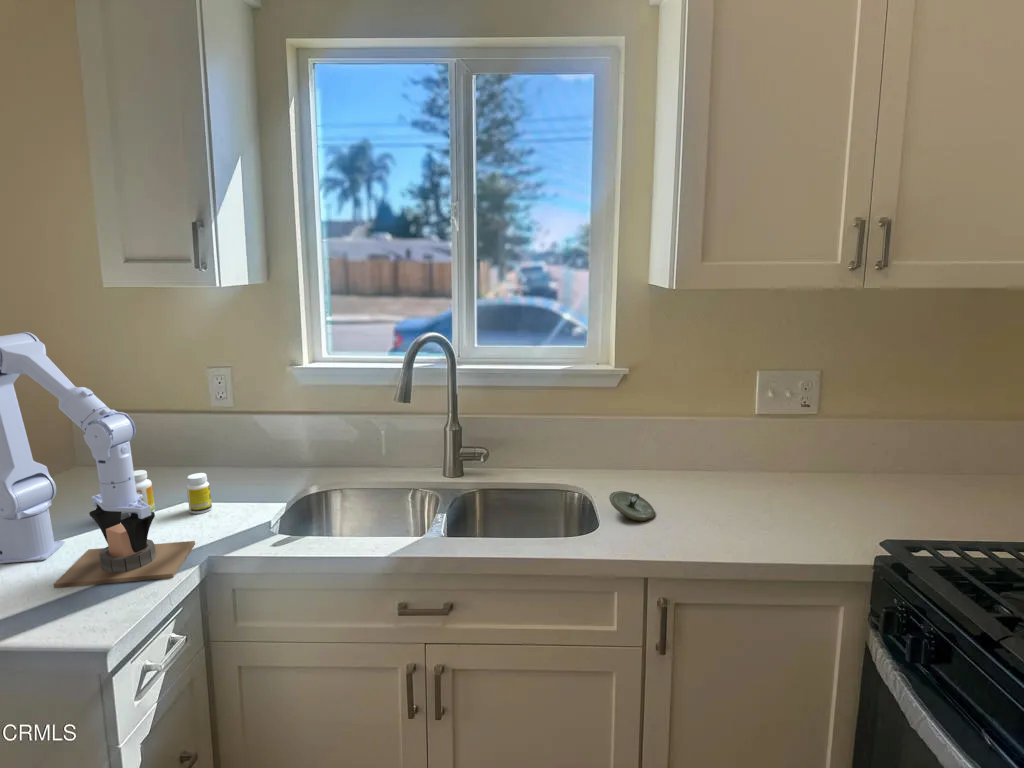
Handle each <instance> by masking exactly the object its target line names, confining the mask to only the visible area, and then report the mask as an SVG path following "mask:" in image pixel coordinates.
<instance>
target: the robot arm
mask: <svg viewBox="0 0 1024 768" xmlns="http://www.w3.org/2000/svg"><path fill="white" fill-rule="evenodd" d="M21 375H26V376H28V377H29V378H30V379H32V380H33V381H35V382H36V383H38V384H39V385H40V386H41V387H43V388H44V389H45V390H46V391H47V392H49V393H50V394H51V395H53V396H54V397H55V398H56V399H58V408H59V410H60V412H62V414H64V415H65V416H67V418H68V419H70V420H71V422H73V423H74V424H75V425H76V426H77V427H79V428H80V429H81V431H83V432H84V433H85V434H83V436H82V437H83V439H84V442H85V444H86V445H87V446H88V447H89V449H90V451H91V456H92V457H93V459H94V460H95V463H96V469H97V477H98V483H99V489H100V493H98V494H96V495H92V496H91V497H90V498H91V504H92V507H95V509H94V510H91V511H90V512H89V513H88V514H89V516H90V517H91V518H92V520H94V522H95V524H97V526H98V527H99V529H100V531H101V533H102V535H103V538H104V539H105V541H106V544H108V541H107V535H106V529H107V528H110V527H113V526H115V525H118V524H120V523H121V524H122V525H123V526H124V528H125V530H126V532H127V534H128V536H129V540H130V544H131V547H132V550H133V552H135V553H137V552H139V551H141V550H143V549H145V548H146V543H147V539H148V536H149V531H150V527H151V525H152V522H153V520H154V518H155V517H156V513H155V511H154V512H151V508H150V505H147V504H145V503H144V502H143V501H142V500H141V499H142V498H143V496H142V494H137V492H136V484H135V477H134V471H135V470H134V464H133V455H132V449H131V442H130V441H132V440H133V439H134V437H135V435H136V425H135V422H134V420H133V419H132V418H131V417H130V416H129V415H128V413H125V412H123V411H116V410H115V409H110V408H109V406H107V405H106V404H105V403H104V402H103V401H102V400H101V399H100V398H99V397H98V396H96V395H95V394H94V392H93V391H92V390H91V389H90V388H88V387H84V386H79V387H78V386H75V385H74V384H73V382H71V380H70V379H69V378H68V377H67V376H66V375H65V374H64V373H63V372H62V371H61V369H60V368H59V367H58V366H57V365H55V363H54V362H53V360H51V359H50V358H49V357H48V356H47V349H46V345H45V344H44V343H43V342H42V341H40V340H39V337H38V336H36V335H35V334H33V333H32V332H28V331H22V332H19V333H13V334H6V335H0V564H10V563H21V562H22V563H23V562H33V561H34V562H35V561H45V560H46V559H48V558H49V557H50V556H52V555H53V553H54V552H56V551H57V550H58V549H59V548H60V547H61V546H63V544H65V540H55V538H54V531H53V527H52V521H51V515H50V514H51V513H50V508H49V507H51V506H52V504H53V503H52V500H53V499H54V498H55V497H56V494H57V486H56V483H55V481H54V480H53V478H52V477H51V475H50V473H49V470H48V467H47V466H46V465H44V464H42V463H40V462H37V461H35V460H34V458H33V455H32V454H33V453H32V450H31V446H30V443H29V440H28V439H29V438H28V436H27V431H26V428H25V424H24V420H23V417H22V416H23V415H22V413H21V409H20V405H19V401H18V397H17V394H16V389H15V386H14V384H15V382H16V381H17V379H18V378H19V376H21ZM122 513H126V514H128V515H129V514H130V515H131V516H130V515H129V516H126V517H125V518H122ZM121 518H122V519H121Z"/></svg>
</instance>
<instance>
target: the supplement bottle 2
mask: <svg viewBox="0 0 1024 768" xmlns="http://www.w3.org/2000/svg"><path fill="white" fill-rule="evenodd" d="M186 480H187V485H186V492H187V500H188V510H189V513H191V514H192V515H198V514H199V515H200V514H204V513H207V512H210V511H211V510H213V505H212V504H213V503H212V495H211V488H210V485H211V484H210V483H209V482H208V477H207V474H206V473H205V472H197V473H192V474H190V475H187V479H186Z"/></svg>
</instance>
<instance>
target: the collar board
mask: <svg viewBox="0 0 1024 768" xmlns="http://www.w3.org/2000/svg"><path fill="white" fill-rule="evenodd" d="M194 545H195V546H196V540H189V541H178V542H177V541H176V542H175V541H174V542H165V543H154V541H153V540H152V539H148V538H147V543H146V549H145V550H143V551H141V552H139V553H137V554H134V555H130V556H126V557H116V558H114V557H110V555H109V548H108V546H106V547H103V548H101V547H100V548H99V547H98V548H92V549H91V548H90V549H87V550H86V552H84V553H83V554H82V555H81V556H80V557H79V558H78V559H77V560H76V561H75V562H74V563H73V564H72V565H71V566H70V567H69V568H68V569H67V570H66V571H65V572H64V573H63V574H62V575H61V576H60V577H59V578H58V579H57V580H56V581H55V582H54V583H53V587H54V589H56V588H57V589H59V588H68V587H80V586H90V585H92V586H93V584H94V585H102V584H104V585H105V584H115V583H124V582H136V581H137V582H138V581H148V580H151V581H152V580H161V579H170V578H171V579H172V578H174V577H175V576H176V574H177V572H178V571H179V569H180V568H181V567H182V566H183V563H184V562H185V561H186V559H187V557H188V556H189V555H190V553H191V552H192V550H193V549H194V547H195V546H194ZM192 548H193V549H192Z"/></svg>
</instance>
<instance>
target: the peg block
mask: <svg viewBox="0 0 1024 768" xmlns="http://www.w3.org/2000/svg"><path fill="white" fill-rule="evenodd" d="M106 535H107V541H108V543H107V547H108V548H109V555H110V557H114V558H116V557H126V556H130V555H134V554H137V553H139V552H141V551H143V550H145V549H146V548H145V549H143V550H141V551H139V552H137V553H135V552H133V550H132V547H131V544H130V540H129V536H128V534H127V532H126V530H125V528H124V526H123V525H122V524H121V523H120V524H118V525H115V526H113V527H110V528H107V529H106Z"/></svg>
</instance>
